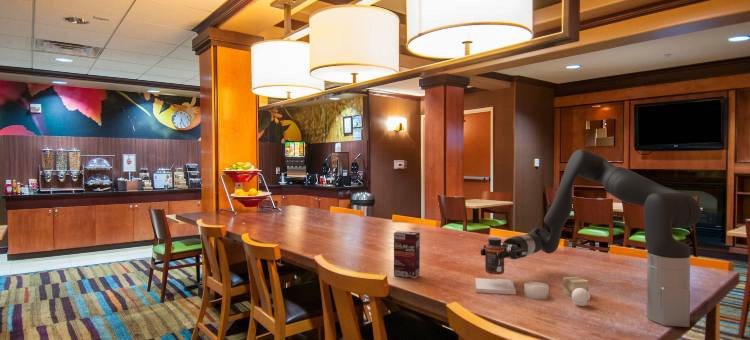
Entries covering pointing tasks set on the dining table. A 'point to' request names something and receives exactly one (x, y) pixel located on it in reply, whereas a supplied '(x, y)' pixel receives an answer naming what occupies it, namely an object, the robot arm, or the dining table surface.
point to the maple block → (573, 284)
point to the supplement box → (406, 254)
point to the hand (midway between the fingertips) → (490, 254)
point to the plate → (494, 286)
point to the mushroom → (580, 296)
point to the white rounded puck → (536, 290)
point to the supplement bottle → (494, 257)
